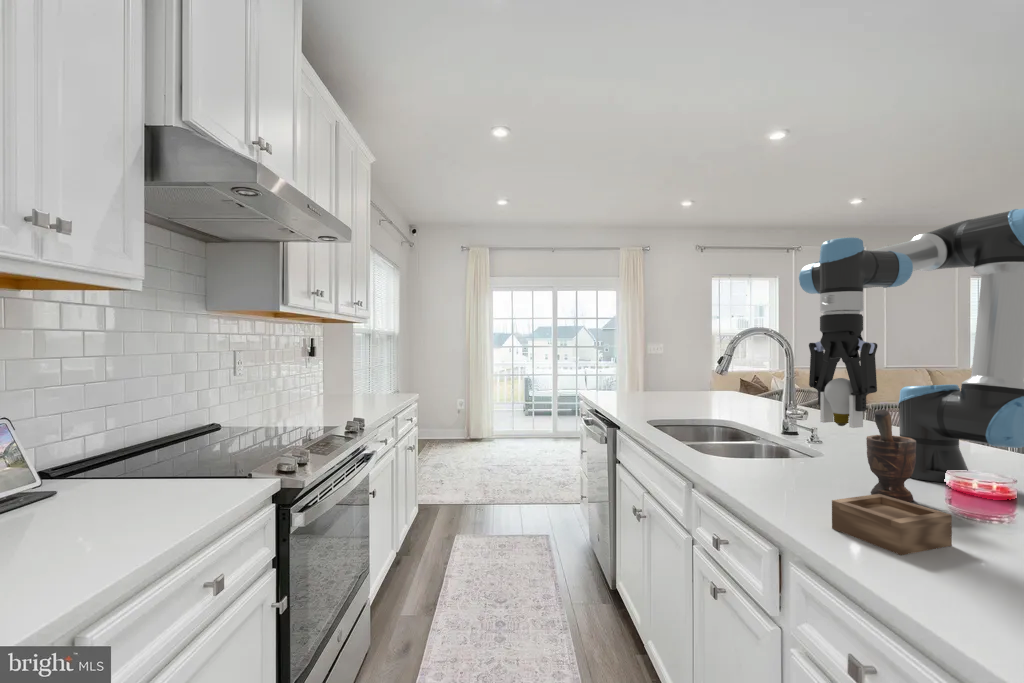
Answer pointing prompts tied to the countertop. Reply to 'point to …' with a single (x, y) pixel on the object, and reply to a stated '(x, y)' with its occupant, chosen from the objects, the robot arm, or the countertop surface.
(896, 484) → the mortar and pestle
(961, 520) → the countertop surface
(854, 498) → the tray
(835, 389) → the light bulb
